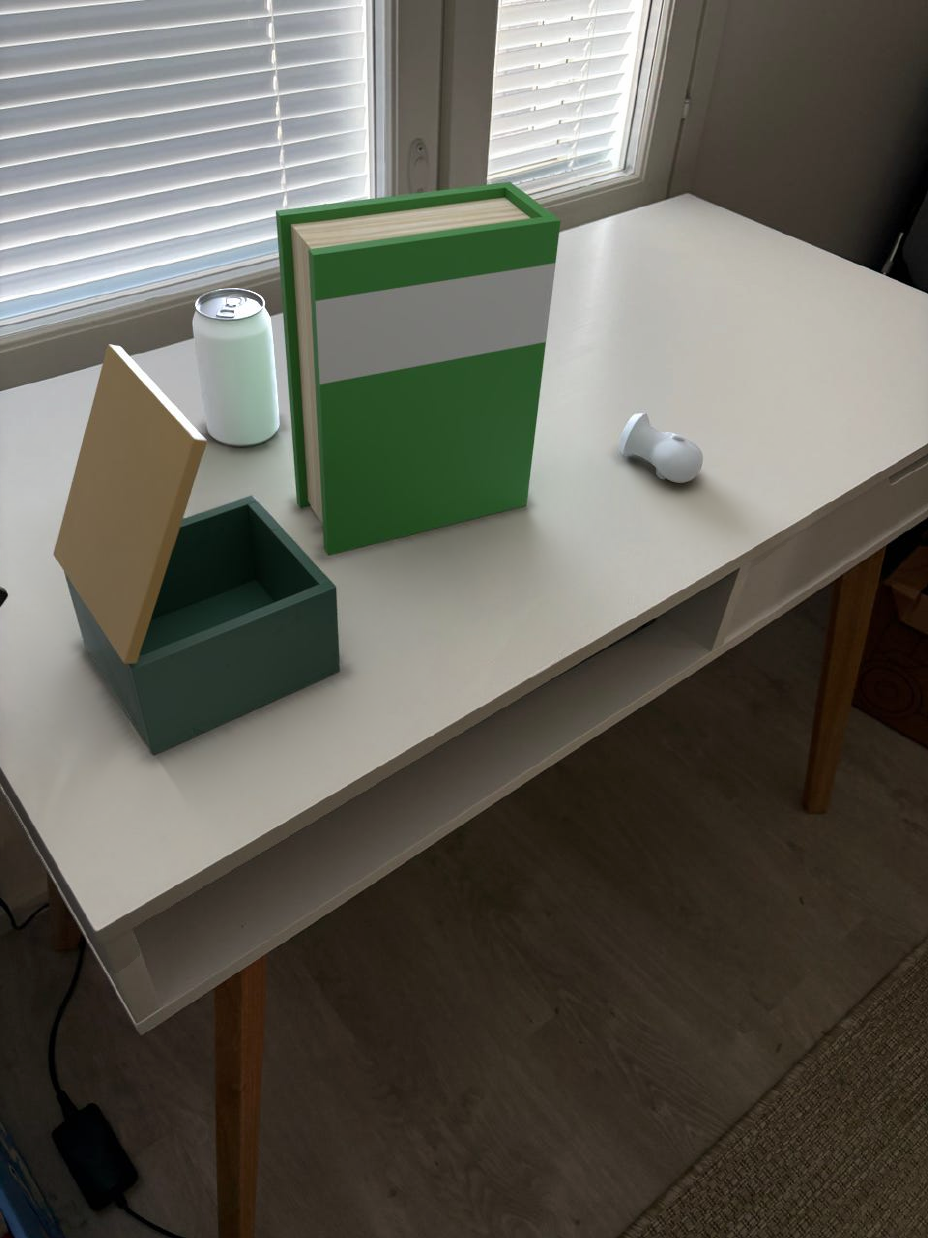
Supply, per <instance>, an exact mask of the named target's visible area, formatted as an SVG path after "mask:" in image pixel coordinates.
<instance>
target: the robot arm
mask: <svg viewBox="0 0 928 1238" xmlns="http://www.w3.org/2000/svg"><path fill="white" fill-rule="evenodd" d="M8 597H9V593H8V591H7V589H5V588H3V587H2V586H0V608H1V607H2V606H3V604H4V603H5V602H6V600H7V599H8Z"/></svg>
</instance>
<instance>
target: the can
mask: <svg viewBox="0 0 928 1238" xmlns="http://www.w3.org/2000/svg"><path fill="white" fill-rule="evenodd" d="M265 304H266V303H265V300H264V298H263V297H262V296H261V295H260V294H258V293H256V292H254V291H251V290H248V289H243V288H232V287H231V288H219V289H214V290H211V291H208V292H205V293H203V294H202V295H200V296H199V297H198V298H197V299H196V300H195V302H194V308H195V312H194V315H193V318H192V334H193V341H194V348H195V356H196V363H197V371H198V379H199V385H200V393H201V399H202V406H203V413H204V418H205V419H204V420H205V426H206V430H207V432H208V434H209V435H210V437H212V438H213V439H214V440H215V441H216V442H219V444H223V445H224V446H229V447H234V448H235V447H236V448H247V447H252V446H253V447H254V446H258V445H261V444H263V443H265V442H267V441H268V440H270V439H271V438H272V437H273V436H275V434H276V433H277V432H278V430H279V427H280V411H279V398H278V386H277V385H278V384H277V372H276V362H275V361H276V360H275V349H274V348H275V347H274V339H273V338H274V337H273V336H274V335H273V327H272V326H273V325H272V320H271V316H270V315H269V312H268V311H267V309H266V307H265Z"/></svg>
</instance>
